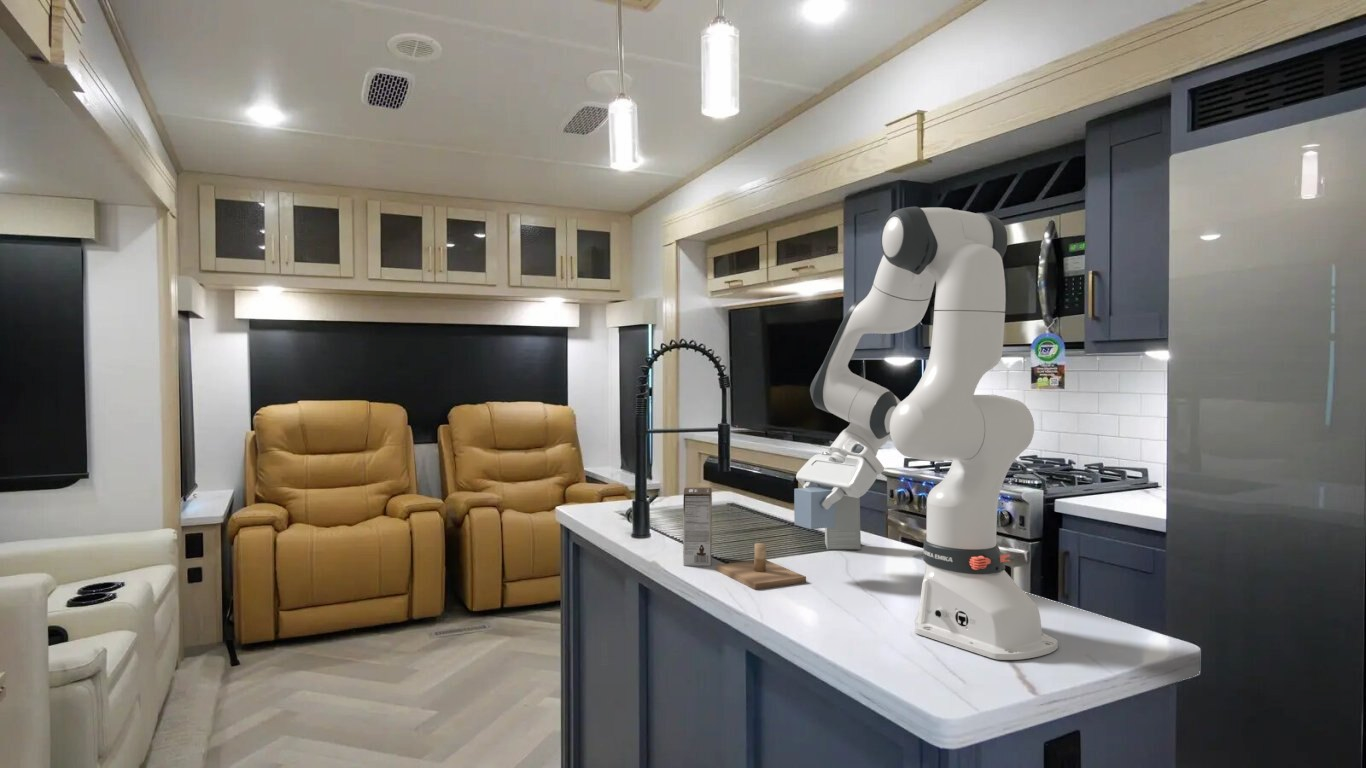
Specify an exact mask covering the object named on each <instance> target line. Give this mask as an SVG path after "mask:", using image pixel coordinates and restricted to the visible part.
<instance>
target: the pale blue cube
mask: <svg viewBox="0 0 1366 768" xmlns="http://www.w3.org/2000/svg"><path fill="white" fill-rule="evenodd" d="M793 490H794V492H793V493H794V494H793V495H794V496H793V497H794V498H793V500H794V501H793V502H794V505H793V507H794V508H793V509H794V512H793V515H794V520H793V521H794V526H799V527H802V528H805V529H808V530H817V529H818V530H819V529H825V528H829V527H835V503H834V504H832V505H831V507H830V508H829V509H823V508H822V507H821V506H820V505H819V502H820V501H821V500H822V498H823V497H825V498H826V497H827V496H828V495H829V494H830V493H832V490H830V489H825V488H820V487H811V488H803V487H801V488H800V487H798V488H794V489H793Z"/></svg>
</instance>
